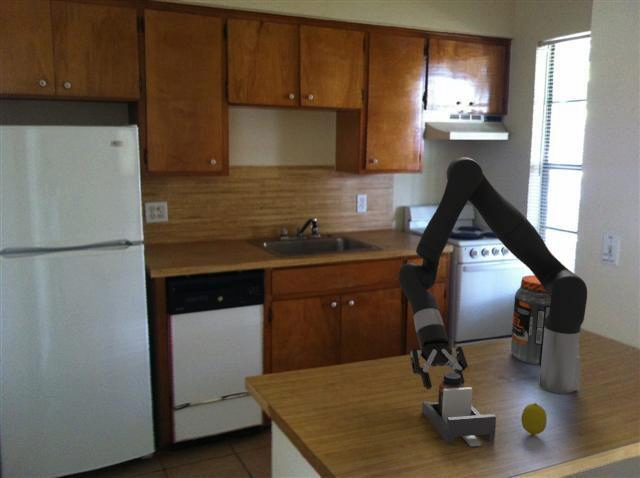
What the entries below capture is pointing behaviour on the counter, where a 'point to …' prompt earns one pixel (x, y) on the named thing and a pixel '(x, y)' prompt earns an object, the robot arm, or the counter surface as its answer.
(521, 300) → the supplement tub
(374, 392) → the counter surface
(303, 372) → the counter surface
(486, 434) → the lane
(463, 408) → the plate
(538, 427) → the lemon
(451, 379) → the supplement bottle
